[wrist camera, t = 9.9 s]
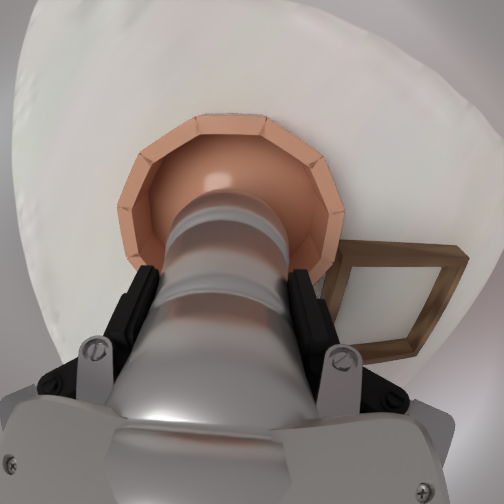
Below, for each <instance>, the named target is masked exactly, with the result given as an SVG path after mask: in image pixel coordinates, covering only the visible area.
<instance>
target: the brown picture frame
mask: <svg viewBox="0 0 504 504" xmlns="http://www.w3.org/2000/svg"><path fill="white" fill-rule="evenodd" d="M469 259H470V258H469V257H468V256H467V255H466V254H465V253H464V252H463V251H462V250H461V249H460V248H459V247H458V246H455V245H438V244H420V243H401V242H381V241H359V240H339V243H338V248H337V252H336V256H335V261H334V262H333V265H332V266H331V267H330V268H329V269H328V270H327V274H326V278H325V282H324V286H323V290H322V294H321V298H320V299H324V300H325V301H326V303H327V306H328V309H329V312H330V315H331V318H332V321H333V324H334V322H335V320H336V317H337V314H338V311H339V308H340V304H341V301H342V298H343V295H344V292H345V289H346V285H347V282H348V279H349V275H350V272H351V268H352V267H442V269H441V271H440V274H439V276H438V278H437V281H436V283H435V285H434V287H433V289H432V291H431V293H430V295H429V298H428V300H427V302H426V304H425V306H424V308H423V309H422V311H421V313H420V315H419V317H418V319H417V321H416V323H415V324H414V326H413V328H412V330H411V332H410V333H409V335H408V337H407V338H405V339H399V340H391V341H384V342H376V343H367V344H357V345H349V346H351V347H353V348H355V349H356V350H357V351H358V352H359V353H360V355H361V357H362V365H367V364H374V363H381V362H387V361H393V360H399V359H404V358H409V357H414V356H417V354H418V353H419V351H420V350H421V348H422V347H423V345H424V344H425V342H426V340H427V339H428V337H429V336H430V334H431V332H432V331H433V329H434V328H435V326H436V324H437V322H438V321H439V319H440V317H441V315H442V314H443V312H444V310H445V308H446V306H447V305H448V303H449V301H450V299H451V297H452V295H453V293H454V291H455V289H456V287H457V285H458V283H459V281H460V279H461V277H462V274H463V272H464V270H465V268H466V266H467V263H468V261H469Z"/></svg>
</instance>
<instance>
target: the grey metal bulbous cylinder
mask: <svg viewBox="0 0 504 504" xmlns="http://www.w3.org/2000/svg"><path fill="white" fill-rule="evenodd" d="M288 268H289V239H288V236H287V232H286V229H285V227H284V225H283V223H282V222H281V220H280V218H279V217H278V216H277V214H276V213H275V212H274V211H273V209H272V208H271V207H270V206H269V205H268V204H267V203H266V202H264V201H263V200H262V199H260V198H259V197H257V196H255V195H253V194H251V193H249V192H246V191H242V190H238V189H227V188H226V189H216V190H212V191H209V192H206V193H204V194H202V195H200V196H198V197H196V198H195V199H194V200H192V201H191V202H190V203H189V204H188V205H186V206H185V207H184V208H183V209H182V210H181V211H180V212H179V213H178V214H177V216H176V217H175V219H174V220H173V222H172V225H171V227H170V230H169V234H168V238H167V242H166V249H165V260H164V265H163V268H162V272H161V275H160V279H159V283H158V287H157V290H156V294H155V298H154V301H153V303H152V305H151V307H150V309H149V312H148V315H147V317H146V319H145V321H144V323H143V325H142V327H141V330H140V332H139V334H138V337H137V339H136V342H135V344H134V346H133V349H132V351H131V354H130V356H129V357H128V359H127V361H126V363H125V365H124V367H123V369H122V370H121V372H120V374H119V376H118V378H117V380H116V382H115V384H114V386H113V388H112V390H111V392H110V393H109V395H108V397H107V399H106V401H105V403H104V405H103V406H105V407H110V408H112V410H113V411H114V412H116V413H117V414H118V415H119V416H121V417H125V418H128V421H127V423H126V425H125V426H124V428H123V429H115V432H114V435H113V438H112V441H111V444H110V447H109V449H108V452H107V454H106V456H105V459H104V461H103V464H102V467H103V469H104V472H105V475H106V477H107V480H108V482H109V485H110V487H111V490H112V492H113V494H114V497H115V499H116V501H117V502H118V504H279V502H280V501H281V500H282V498H283V497H284V495H285V494H286V493H287V491H288V490H289V488H290V487H291V485H292V484H293V483H292V480H291V476H290V473H289V470H288V466H287V461H286V456H285V451H284V446H283V443H278V442H273V440H272V438H271V435H270V433H269V431H268V430H270V429H279V428H283V427H286V426H288V425H290V424H292V423H294V422H296V421H298V420H309V419H320V415H319V413H318V410H317V407H316V403H315V400H314V397H313V395H312V392H311V389H310V386H309V383H308V381H307V378H306V375H305V371H304V367H303V362H302V358H301V354H300V350H299V346H298V342H297V339H296V336H295V330H294V326H293V322H292V318H291V314H290V305H289V292H288V284H287V281H288V277H287V274H288Z"/></svg>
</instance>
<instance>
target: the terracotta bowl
mask: <svg viewBox="0 0 504 504" xmlns="http://www.w3.org/2000/svg"><path fill="white" fill-rule="evenodd" d="M226 188H227V189H238V190H242V191H246V192H249V193H251V194H253V195H255V196H257V197H259V198H260V199H262V200H263V201H264V202H266V203H267V204H268V205H269V206H270V207H271V208H272V209H273V211H274V212H275V213H276V214H277V216H278V217H279V218H280V220H281V222H282V223H283V225H284V227H285V229H286V232H287V236H288V239H289V268H288V274H289V272H293V270H294V269H307V271H308V273H309V276H310V279H311V282H312V286H314V284H315V283H316V282H317V281H318V280H319V279H320V278H321V277H322V276H323V275H324V273H325V272H326V271H327V270H328V269H329V268H330V267H331V266H332V265H333V262H334V261H335V256H336V252H337V248H338V243H339V239H340V234H341V229H342V225H343V220H344V215H345V212H344V210H345V209H344V207H343V204H342V201H341V199H340V196H339V193H338V191H337V188H336V185H335V183H334V180H333V178H332V175H331V173H330V170H329V168H328V166H327V163H326V161H325V158H324V157H323V156H322V155H321V154H320V153H319V152H317V151H316V150H315V149H313V148H312V147H310V146H309V145H308V144H306V143H305V142H303V141H302V140H300V139H299V138H298V137H296V136H295V135H293V134H292V133H290V132H289V131H287V130H286V129H284V128H283V127H281V126H280V125H278V124H277V123H275V122H273V121H272V120H270V119H269V118H267V117H265V116H264V115H258V114H238V113H226V114H202V115H199V116H196V117H193V118H192V119H190V120H188V121H186V122H185V123H183V124H182V125H180V126H178V127H177V128H175V129H173V130H172V131H170V132H169V133H167V134H166V135H164V136H163V137H161V138H160V139H158V140H157V141H155V142H154V143H152V144H151V145H149V146H148V147H146V148H145V149H143V150H142V151H141V152H140V153H139V154H138V156H137V158H136V160H135V163H134V165H133V167H132V169H131V172H130V174H129V176H128V179H127V181H126V184H125V186H124V188H123V191H122V194H121V196H120V199H119V201H118V204H117V206H118V207H117V212H118V218H119V224H120V229H121V235H122V240H123V245H124V250H125V254H126V257H128V258H127V259H128V261H129V262H130V263H131V264H132V266H133V267H134V268H135V269H136V270H137V272H138V270H139V268H140V266H141V265H153V266H154V267H155V269H158V270H159V275H161V272H162V268H163V265H164V260H165V249H166V242H167V238H168V234H169V230H170V227H171V225H172V222H173V220H174V219H175V217H176V216H177V214H178V213H179V212H180V211H181V210H182V209H183V208H184V207H185V206H186V205H188V204H189V203H190V202H191V201H192V200H194V199H195V198H196V197H198V196H200V195H202V194H204V193H206V192H209V191H212V190H216V189H226ZM288 274H287V277H288Z"/></svg>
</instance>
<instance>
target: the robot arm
mask: <svg viewBox="0 0 504 504" xmlns="http://www.w3.org/2000/svg"><path fill="white" fill-rule="evenodd" d="M159 279H160V275H159V270H158V269H155V267H154V266H153V265H141V266H140V268H139V270H138V272H137V274H136V276H135V278H134V280H133V282H132V284H131V286H130V288H129V290H128V292H127V293H124V294H123V295H122V296H121V298H120V300H119V302H118V304H117V306H116V308H115V310H114V313H113V315H112V317H111V319H110V321H109V323H108V326H107V328H106V330H105V332H104V335H103V336H92V337H90V338H88V339H86V340H85V341H84V342H83V343H82V344H81V346H80V349H79V354H78V357H77V358H75V359H73V360H71V361H69V362H68V363H66V364H64V365H62V366H60V367H58V368H56V369H54V370H52V371H50V372H49V373H46V374H45V375H44V376H42V377H41V379H40V380H39V382H38V385H37V386H35V384H32V385H30V386H28V387H25V388H23V389H21V390H18V391H16V392H14V393H11V394H9V395H7V396H5V397H4V398H2V400H1V401H0V420H1V425H2V429H3V435H2V438H1V441H0V504H118V502H117V501H116V499H115V497H114V494H113V492H112V490H111V487H110V485H109V482H108V480H107V477H106V475H105V472H104V469H103V467H102V464H103V461H104V459H105V456H106V454H107V452H108V449H109V447H110V444H111V441H112V438H113V435H114V432H115V429H123V428H124V426H125V425H126V423H127V421H128V418H125V417H121V416H119V415H118V414H117V413H116V412H114V411H113V410H112V408H110V407H105V406H103V405H104V403H105V401H106V399H107V397H108V395H109V393H110V392H111V390H112V388H113V386H114V384H115V382H116V380H117V378H118V376H119V374H120V372H121V370H122V369H123V367H124V365H125V363H126V361H127V359H128V357H129V356H130V354H131V351H132V349H133V346H134V344H135V342H136V339H137V337H138V334H139V332H140V330H141V327H142V325H143V323H144V321H145V319H146V317H147V315H148V312H149V309H150V307H151V305H152V303H153V301H154V298H155V294H156V290H157V287H158V283H159ZM287 284H288V292H289V305H290V314H291V318H292V322H293V326H294V330H295V336H296V339H297V342H298V346H299V350H300V354H301V358H302V362H303V367H304V371H305V375H306V378H307V381H308V383H309V386H310V389H311V392H312V395H313V397H314V400H315V403H316V407H317V410H318V413H319V415H320V419H309V420H298V421H296V422H294V423H292V424H290V425H288V426H286V427H283V428H279V429H270V430H268V431H269V433H270V435H271V438H272V440H273V442H278V443H283V446H284V451H285V456H286V461H287V466H288V470H289V473H290V476H291V480H292V483H293V484H292V485H291V487H290V488H289V490H288V491H287V493H286V494H285V495H284V497H283V498H282V500H281V501H280V502H279V504H450V501H449V496H448V491H447V486H446V482H445V478H444V473H443V470H442V468H443V465H444V463H445V460H446V457H447V454H448V451H449V448H450V444H451V441H452V438H453V434H454V431H455V422H454V419H453V418H452V416H451V415H449V414H448V413H446V412H443V411H441V410H439V409H436V408H434V407H432V406H429V405H427V404H425V403H423V402H421V401H418V400H416V399H414V400H413V401H412V400H410V399H409V396H408V394H407V393H406V392H405V391H404V390H403V389H402V388H401V387H399V386H397V385H395V384H393V383H391V382H390V381H388V380H386V379H384V378H382V377H381V376H379V375H377V374H375V373H374V372H372V371H370V370H368V369H367V368H365V367H363V366H362V357H361V355H360V353H359V352H358V351H357V350H356V349H355V348H353V347H351V346H349V345H345V344H340V342H339V339H338V336H337V333H336V330H335V327H334V324H333V321H332V318H331V315H330V312H329V309H328V306H327V303H326V301H325V300H324V299H317V298H316V295H315V292H314V289H313V286H312V282H311V279H310V276H309V273H308V271H307V269H294V270H293V272H289V274H288V281H287Z"/></svg>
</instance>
